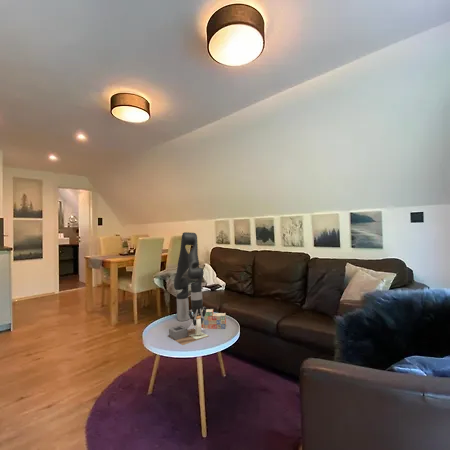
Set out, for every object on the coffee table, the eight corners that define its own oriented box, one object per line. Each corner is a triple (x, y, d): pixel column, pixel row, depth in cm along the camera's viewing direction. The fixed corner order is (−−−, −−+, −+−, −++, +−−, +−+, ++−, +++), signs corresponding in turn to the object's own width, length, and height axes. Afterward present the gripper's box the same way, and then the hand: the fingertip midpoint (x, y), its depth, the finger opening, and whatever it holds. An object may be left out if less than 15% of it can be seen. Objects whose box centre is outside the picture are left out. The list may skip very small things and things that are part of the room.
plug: (194, 334, 184) (193, 315, 185) (199, 332, 187) (198, 314, 187) (197, 335, 181) (196, 317, 181) (202, 333, 184) (201, 315, 184)
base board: (167, 338, 186) (167, 335, 186) (193, 330, 199) (193, 327, 199) (182, 347, 171) (182, 344, 171) (209, 338, 183) (209, 335, 183)
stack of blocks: (226, 325, 205) (225, 308, 206) (225, 328, 199) (224, 311, 199) (198, 325, 208) (197, 309, 208) (196, 328, 202) (195, 311, 202)
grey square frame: (169, 336, 186) (168, 328, 186) (181, 332, 191) (180, 325, 191) (175, 340, 179) (175, 332, 179) (187, 336, 184) (187, 328, 184)
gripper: (202, 295, 192) (203, 320, 192) (184, 299, 183) (185, 325, 183) (208, 297, 186) (210, 323, 186) (190, 301, 177) (191, 328, 177)
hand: (198, 324), depth 184 cm, fingers closed on plug, 4 cm apart
